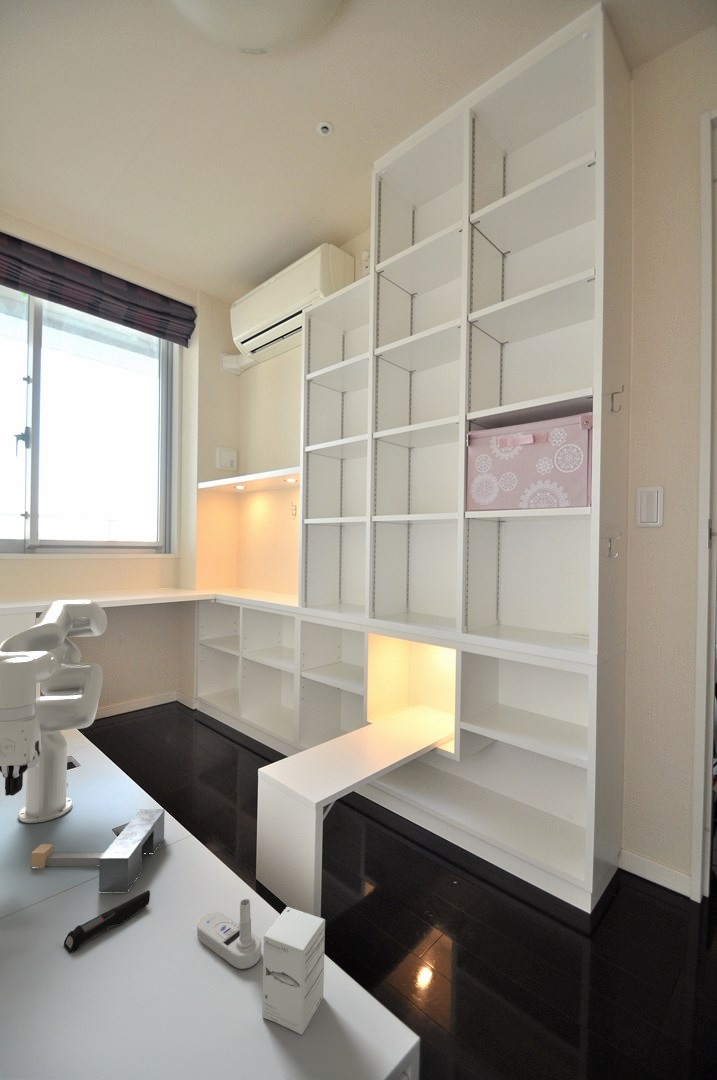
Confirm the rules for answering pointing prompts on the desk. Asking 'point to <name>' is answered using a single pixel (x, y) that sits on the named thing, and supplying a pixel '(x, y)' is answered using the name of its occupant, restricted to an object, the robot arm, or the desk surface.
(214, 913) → the electronic device
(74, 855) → the lever
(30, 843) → the desk surface
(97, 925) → the electric trimmer
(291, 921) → the supplement box
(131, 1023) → the desk surface
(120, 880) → the block
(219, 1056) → the desk surface
